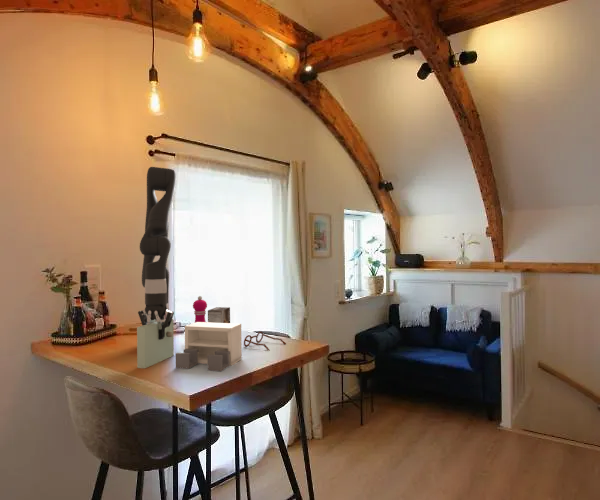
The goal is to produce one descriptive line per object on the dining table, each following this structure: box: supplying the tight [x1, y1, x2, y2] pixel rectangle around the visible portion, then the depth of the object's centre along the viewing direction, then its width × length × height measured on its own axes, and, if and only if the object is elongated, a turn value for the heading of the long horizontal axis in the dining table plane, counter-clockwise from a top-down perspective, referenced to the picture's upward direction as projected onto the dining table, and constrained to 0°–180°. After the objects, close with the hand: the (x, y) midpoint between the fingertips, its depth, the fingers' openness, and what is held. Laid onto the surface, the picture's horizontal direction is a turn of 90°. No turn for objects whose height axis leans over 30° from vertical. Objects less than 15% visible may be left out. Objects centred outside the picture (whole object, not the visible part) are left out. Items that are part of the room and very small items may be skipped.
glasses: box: [243, 331, 287, 351], centre depth 179 cm, size 13×13×5 cm
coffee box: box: [207, 306, 231, 323], centre depth 176 cm, size 9×6×16 cm
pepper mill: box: [192, 295, 208, 323], centre depth 187 cm, size 7×7×20 cm
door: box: [136, 318, 175, 369], centre depth 155 cm, size 18×5×14 cm, turn 165°
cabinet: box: [175, 321, 243, 372], centre depth 152 cm, size 18×16×13 cm
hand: (156, 338), depth 155 cm, fingers open, 3 cm apart
